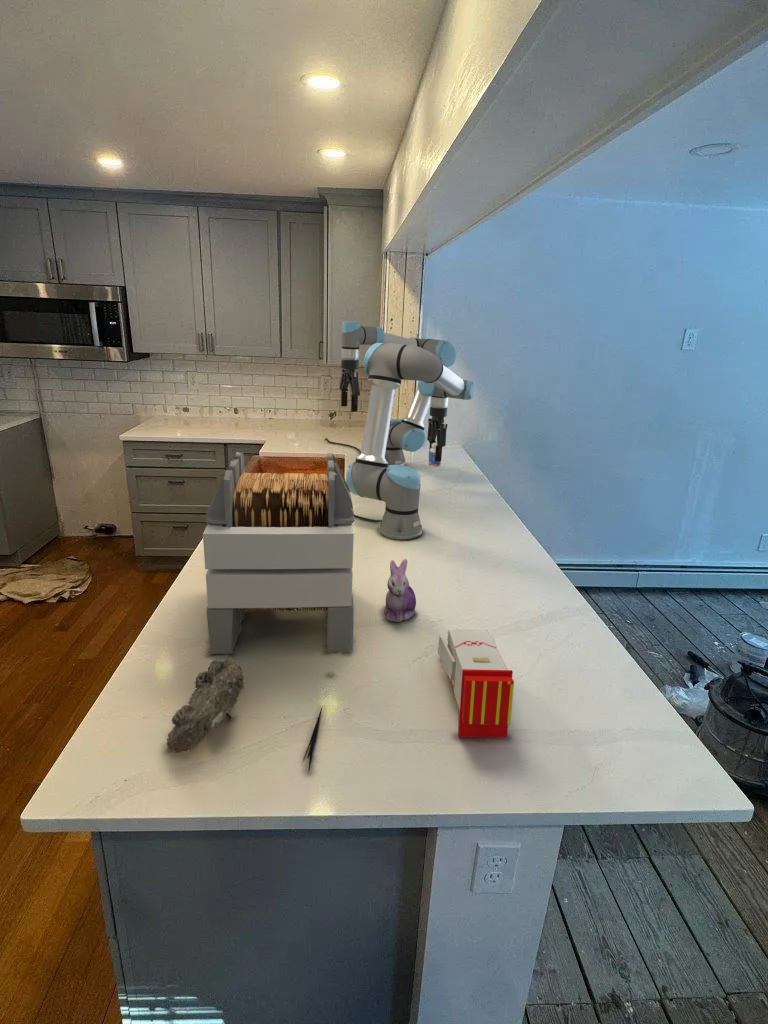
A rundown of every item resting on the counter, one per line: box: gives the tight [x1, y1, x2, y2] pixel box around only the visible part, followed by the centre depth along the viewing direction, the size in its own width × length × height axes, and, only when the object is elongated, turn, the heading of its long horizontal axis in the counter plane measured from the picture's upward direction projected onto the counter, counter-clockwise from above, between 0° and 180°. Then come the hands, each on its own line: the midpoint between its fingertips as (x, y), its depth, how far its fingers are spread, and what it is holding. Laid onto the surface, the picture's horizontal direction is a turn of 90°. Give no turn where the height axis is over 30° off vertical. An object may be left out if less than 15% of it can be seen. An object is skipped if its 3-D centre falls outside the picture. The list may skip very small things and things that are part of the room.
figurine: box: [384, 558, 417, 623], centre depth 145 cm, size 9×10×15 cm
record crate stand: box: [202, 451, 355, 655], centre depth 137 cm, size 34×33×41 cm
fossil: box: [166, 658, 245, 754], centre depth 106 cm, size 22×10×15 cm
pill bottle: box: [428, 442, 442, 468], centre depth 250 cm, size 6×5×10 cm
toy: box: [437, 628, 515, 738], centre depth 117 cm, size 12×13×30 cm
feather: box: [301, 673, 332, 771], centre depth 108 cm, size 2×28×2 cm
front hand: (434, 459), depth 251 cm, fingers closed on pill bottle, 5 cm apart
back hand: (349, 408), depth 250 cm, fingers open, 13 cm apart
